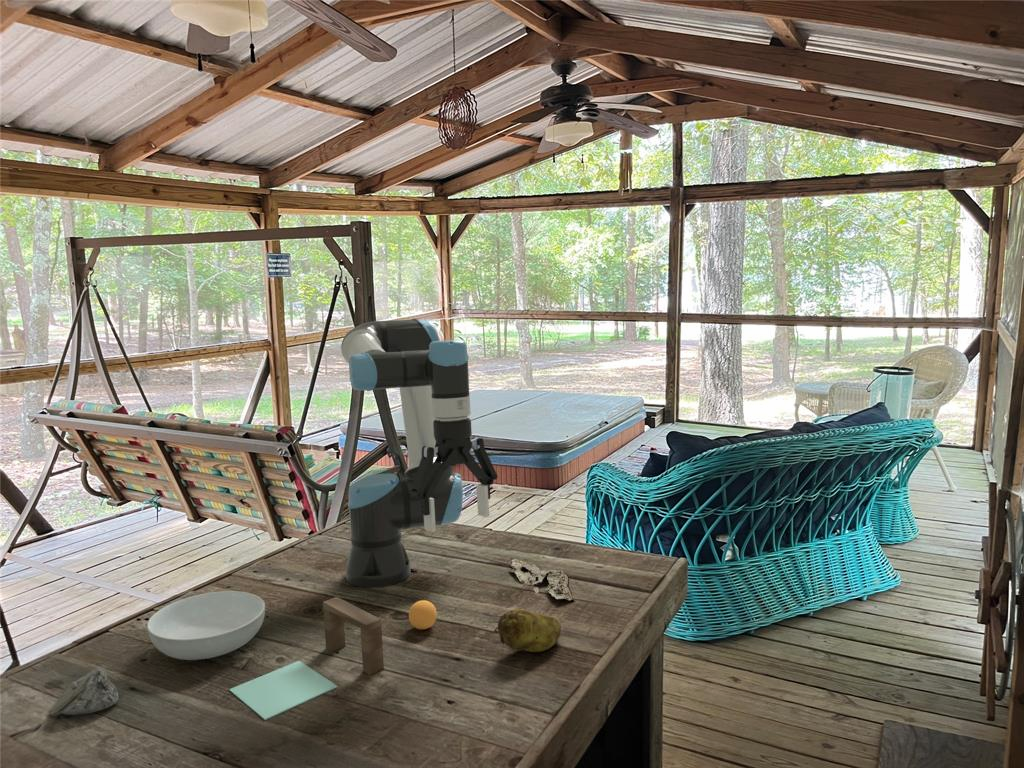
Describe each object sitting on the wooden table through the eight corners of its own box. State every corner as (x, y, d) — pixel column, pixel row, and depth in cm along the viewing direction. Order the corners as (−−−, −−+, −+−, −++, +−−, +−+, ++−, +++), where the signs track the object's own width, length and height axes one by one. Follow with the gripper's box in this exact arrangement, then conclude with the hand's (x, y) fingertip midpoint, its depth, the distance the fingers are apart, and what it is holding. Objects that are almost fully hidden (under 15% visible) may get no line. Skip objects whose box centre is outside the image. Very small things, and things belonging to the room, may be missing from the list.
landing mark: (229, 690, 126) (229, 689, 126) (299, 661, 135) (298, 660, 135) (265, 720, 117) (265, 719, 117) (337, 687, 126) (337, 686, 126)
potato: (572, 653, 135) (571, 611, 134) (505, 666, 131) (503, 623, 130) (556, 633, 142) (554, 593, 141) (491, 645, 139) (490, 604, 138)
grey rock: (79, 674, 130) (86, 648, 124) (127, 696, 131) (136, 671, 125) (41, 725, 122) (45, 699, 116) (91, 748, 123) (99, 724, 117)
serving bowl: (152, 686, 128) (148, 649, 127) (149, 638, 147) (145, 605, 146) (276, 655, 138) (273, 620, 137) (258, 613, 156) (255, 582, 155)
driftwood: (594, 583, 160) (583, 566, 158) (564, 619, 155) (552, 603, 153) (528, 560, 181) (517, 546, 179) (500, 592, 176) (489, 577, 175)
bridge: (369, 675, 129) (366, 625, 128) (326, 648, 140) (322, 601, 138) (383, 668, 131) (380, 619, 130) (339, 642, 142) (336, 596, 141)
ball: (403, 628, 147) (402, 602, 146) (425, 619, 150) (424, 593, 150) (420, 637, 143) (419, 610, 142) (443, 627, 147) (441, 600, 146)
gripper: (410, 427, 136) (417, 541, 138) (511, 411, 152) (516, 513, 154) (387, 424, 141) (394, 533, 143) (487, 409, 158) (492, 507, 160)
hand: (457, 523), depth 149 cm, fingers open, 13 cm apart
